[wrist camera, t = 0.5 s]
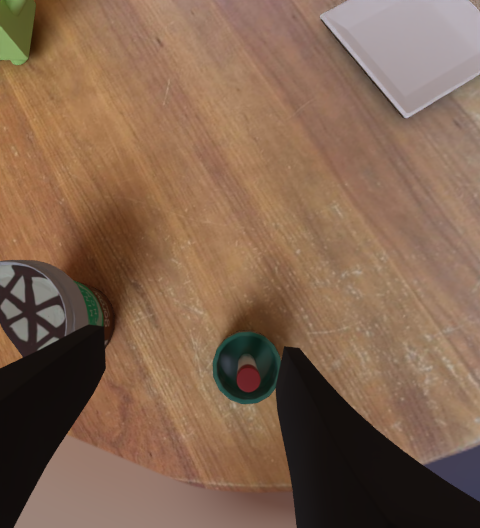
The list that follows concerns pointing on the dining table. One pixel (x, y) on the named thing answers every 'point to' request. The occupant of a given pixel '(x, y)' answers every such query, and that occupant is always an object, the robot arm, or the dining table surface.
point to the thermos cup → (228, 365)
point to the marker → (247, 373)
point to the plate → (410, 46)
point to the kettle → (16, 29)
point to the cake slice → (47, 305)
